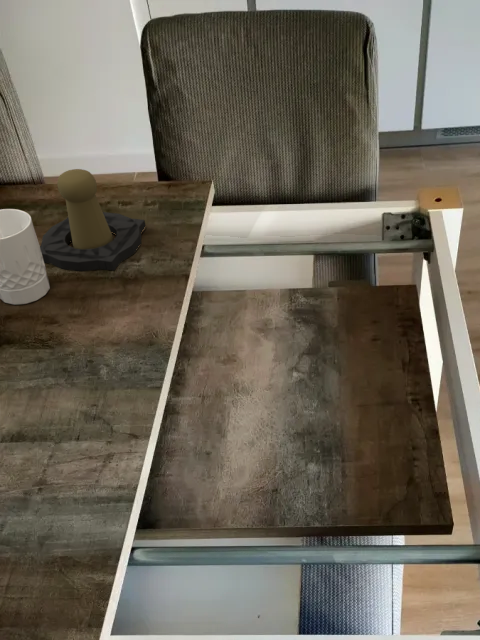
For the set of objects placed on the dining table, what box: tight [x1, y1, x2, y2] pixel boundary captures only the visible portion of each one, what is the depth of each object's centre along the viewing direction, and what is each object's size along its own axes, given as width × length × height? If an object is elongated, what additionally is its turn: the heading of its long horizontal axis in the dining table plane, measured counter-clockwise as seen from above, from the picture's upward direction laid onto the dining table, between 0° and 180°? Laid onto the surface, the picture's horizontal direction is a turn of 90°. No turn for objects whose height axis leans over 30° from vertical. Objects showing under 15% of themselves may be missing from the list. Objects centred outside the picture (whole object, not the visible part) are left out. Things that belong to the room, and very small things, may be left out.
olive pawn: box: [56, 168, 115, 249], centre depth 94 cm, size 6×6×11 cm
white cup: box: [0, 208, 51, 306], centre depth 86 cm, size 8×8×10 cm
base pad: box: [40, 211, 147, 272], centre depth 97 cm, size 14×14×2 cm
